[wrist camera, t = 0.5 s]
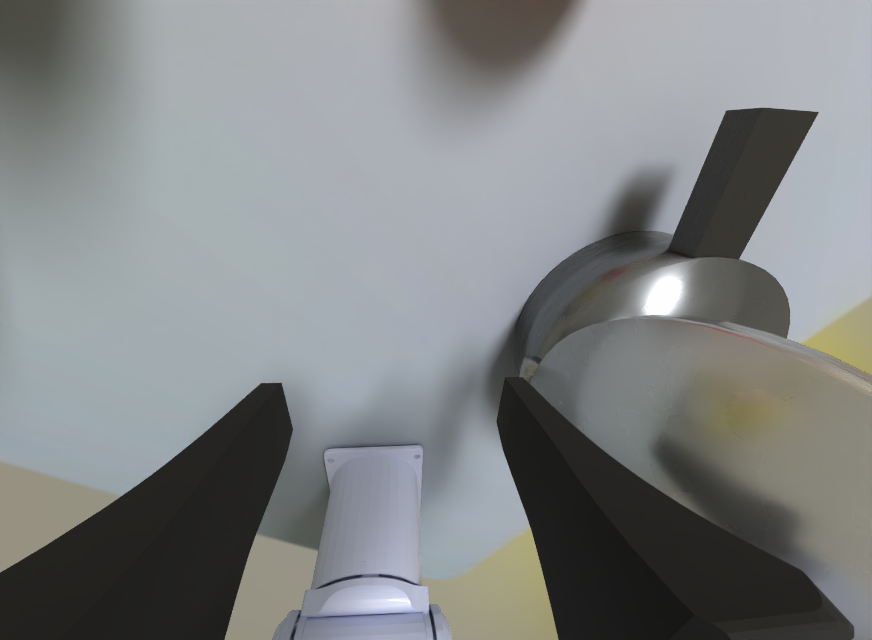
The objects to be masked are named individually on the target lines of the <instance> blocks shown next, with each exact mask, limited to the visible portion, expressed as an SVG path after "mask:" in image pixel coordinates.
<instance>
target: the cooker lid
mask: <svg viewBox="0 0 872 640" xmlns="http://www.w3.org/2000/svg"><path fill="white" fill-rule="evenodd" d="M519 377H523V378H524V379H525V380H526V381H527V382H528V383H529V384H530V385H531V386H533V387H534V388H535V389H536V390H537V391H538V392H539V393H540V394H541V395H542V396H543V397H544V398H545V399H546V400H547V401H548V402H549V403H550V404H551V405H552V406H553V407H554V408H555V409H556V410H557V411H558V412H560V413H561V414H562V415H563V416H564V417H565V418H566V419H567V420H568V421H569V422H571V423H572V424H573V425H574V426H575V427H576V428H577V429H578V430H580V431H581V432H582V433H583V434H584V435H585V436H587V437H588V438H589V439H590V440H591V441H593V442H594V443H595V444H596V445H598V446H599V447H600V448H601V449H602V450H604V451H605V452H606V453H608V454H609V455H610V456H611V457H613V458H614V459H615V460H617V461H618V462H620V463H621V464H622V465H624V466H625V467H626V468H628V469H629V470H630V471H632V472H633V473H635V474H636V475H637V476H639V477H640V478H642V479H643V480H645V481H646V482H648V483H649V484H651V485H652V486H654V487H655V488H657V489H658V490H660V491H661V492H663V493H664V494H666V495H668V496H669V497H671V498H672V499H674V500H675V501H677V502H678V503H680V504H682V505H683V506H685V507H687V508H688V509H690V510H692V511H693V512H695V513H697V514H698V515H700V516H702V517H703V518H705V519H707V520H709V521H710V522H712V523H714V524H716V525H717V526H719V527H721V528H723V529H724V530H726V531H728V532H730V533H731V534H733V535H735V536H737V537H739V538H740V539H742V540H744V541H746V542H748V543H750V544H752V545H754V546H756V547H758V548H760V549H762V550H764V551H765V552H767V553H769V554H771V555H773V556H775V557H777V558H779V559H781V560H783V561H785V562H787V563H789V564H791V565H792V566H794V567H796V568H798V569H800V570H802V571H803V572H804V573H805V574H806V575H807V576H808V577H809V578H810V579H811V580H812V581H813V583H814V584H815V585H816V586H817V587H818V588H819V589H820V590H821V591H822V592H823V593H824V594H825V595H826V597H827V598H828V599H829V600H830V601H831V602H832V603H833V604H834V605H835V606H836V607H837V608H838V609H839V611H840V612H841V613H842V614H843V615H844V616H845V617H846V618H847V619H848V620H849V621H850V622H851V623H852V625H853V626H854V638H853V639H852V640H872V375H870V374H868V373H866V372H864V371H862V370H860V369H858V368H856V367H854V366H852V365H849V364H847V363H845V362H843V361H841V360H839V359H837V358H835V357H833V356H831V355H828V354H826V353H823V352H820V351H818V350H815V349H813V348H810V347H807V346H805V345H802V344H799V343H797V342H794V341H791V340H789V339H786V338H783V337H780V336H778V335H775V334H772V333H768V332H765V331H761V330H757V329H753V328H750V327H746V326H742V325H738V324H734V323H731V322H727V321H720V320H714V319H707V318H701V317H694V316H687V315H646V316H636V317H628V318H622V319H616V320H610V321H606V322H602V323H598V324H594V325H590V326H587V327H585V328H582V329H580V330H578V331H576V332H574V333H571V334H570V335H568V336H567V337H565V338H564V339H563V340H561V341H560V342H558V343H557V344H556V345H555V346H554V347H553V348H552V349H551V350H550V351H549V352H548V353H547V354H546V355H545V357H544V358H543V359H542V358H540V357H537V356H526V357H525V358H524V359H523V363H522V367H521V371H520V375H519Z"/></svg>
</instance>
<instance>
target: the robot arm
mask: <svg viewBox="0 0 872 640" xmlns="http://www.w3.org/2000/svg"><path fill="white" fill-rule="evenodd" d="M497 426H498V430H499V435H500V439H501V443H502V447H503V451H504V454H505V457H506V460H507V463H508V465H509V468H510V471H511V474H512V477H513V479H514V482H515V485H516V488H517V490H518V493H519V496H520V499H521V501H522V504H523V507H524V510H525V512H526V515H527V518H528V521H529V524H530V527H531V530H532V534H533V537H534V541H535V545H536V548H537V552H538V556H539V560H540V563H541V567H542V571H543V575H544V579H545V584H546V587H547V591H548V596H549V600H550V604H551V608H552V612H553V617H554V621H555V626H556V630H557V634H558V639H559V640H852V639H853V638H854V626H853V625H852V623H851V622H850V621H849V620H848V619H847V618H846V617H845V616H844V615H843V614H842V613H841V612H840V611H839V609H838V608H837V607H836V606H835V605H834V604H833V603H832V602H831V601H830V600H829V599H828V598H827V597H826V595H825V594H824V593H823V592H822V591H821V590H820V589H819V588H818V587H817V586H816V585H815V584H814V583H813V581H812V580H811V579H810V578H809V577H808V576H807V575H806V574H805V573H804V572H803V571H802V570H800V569H798V568H796V567H794V566H792V565H791V564H789V563H787V562H785V561H783V560H781V559H779V558H777V557H775V556H773V555H771V554H769V553H767V552H765V551H764V550H762V549H760V548H758V547H756V546H754V545H752V544H750V543H748V542H746V541H744V540H742V539H740V538H739V537H737V536H735V535H733V534H731V533H730V532H728V531H726V530H724V529H723V528H721V527H719V526H717V525H716V524H714V523H712V522H710V521H709V520H707V519H705V518H703V517H702V516H700V515H698V514H697V513H695V512H693V511H692V510H690V509H688V508H687V507H685V506H683V505H682V504H680V503H678V502H677V501H675V500H674V499H672V498H671V497H669V496H668V495H666V494H664V493H663V492H661V491H660V490H658V489H657V488H655V487H654V486H652V485H651V484H649V483H648V482H646V481H645V480H643V479H642V478H640V477H639V476H637V475H636V474H635V473H633V472H632V471H630V470H629V469H628V468H626V467H625V466H624V465H622V464H621V463H620V462H618V461H617V460H615V459H614V458H613V457H611V456H610V455H609V454H608V453H606V452H605V451H604V450H602V449H601V448H600V447H599V446H598V445H596V444H595V443H594V442H593V441H591V440H590V439H589V438H588V437H587V436H585V435H584V434H583V433H582V432H581V431H580V430H578V429H577V428H576V427H575V426H574V425H573V424H572V423H571V422H569V421H568V420H567V419H566V418H565V417H564V416H563V415H562V414H561V413H560V412H558V411H557V410H556V409H555V408H554V407H553V406H552V405H551V404H550V403H549V402H548V401H547V400H546V399H545V398H544V397H543V396H542V395H541V394H540V393H539V392H538V391H537V390H536V389H535V388H534V387H533V386H531V385H530V384H529V383H528V382H527V381H526V380H525V379H524V378H523V377H509V378H505V381H504V386H503V391H502V396H501V401H500V406H499V412H498V417H497ZM292 431H293V428H292V424H291V420H290V416H289V412H288V407H287V403H286V399H285V395H284V391H283V387H282V383H261V384H260V385H259V386H258V387H256V388H255V389H254V390H253V391H252V392H251V393H249V394H248V395H247V396H246V397H245V398H244V399H243V400H242V401H241V402H239V403H238V404H237V405H236V406H235V407H234V408H233V409H232V410H230V411H229V412H228V413H227V414H226V415H225V416H224V417H222V418H221V419H220V420H219V421H218V422H217V423H215V424H214V425H213V426H212V427H211V428H210V429H208V430H207V431H206V432H205V433H204V434H203V435H201V436H200V437H199V438H198V439H197V440H195V441H194V442H193V443H192V444H190V445H189V446H188V447H187V448H185V449H184V450H183V451H182V452H180V453H179V454H178V455H177V456H175V457H174V458H173V459H172V460H170V461H169V462H168V463H167V464H165V465H164V466H163V467H161V468H160V469H159V470H157V471H156V472H155V473H153V474H152V475H151V476H149V477H148V478H147V479H145V480H144V481H143V482H141V483H140V484H138V485H137V486H136V487H134V488H133V489H131V490H130V491H128V492H127V493H126V494H124V495H123V496H121V497H120V498H118V499H117V500H116V501H114V502H113V503H111V504H110V505H108V506H107V507H105V508H104V509H102V510H101V511H99V512H98V513H96V514H95V515H93V516H91V517H90V518H88V519H87V520H85V521H84V522H82V523H81V524H79V525H77V526H76V527H74V528H73V529H71V530H69V531H68V532H66V533H65V534H63V535H62V536H60V537H59V538H57V539H55V540H54V541H52V542H51V543H49V544H48V545H46V546H45V547H43V548H41V549H39V550H38V551H36V552H34V553H33V554H31V555H29V556H28V557H26V558H24V559H23V560H21V561H20V562H18V563H16V564H14V565H13V566H11V567H9V568H7V569H6V570H4V571H2V572H1V573H0V640H224V639H225V635H226V632H227V628H228V625H229V621H230V617H231V614H232V610H233V606H234V603H235V599H236V595H237V592H238V589H239V585H240V582H241V578H242V575H243V571H244V569H245V565H246V562H247V558H248V555H249V552H250V549H251V547H252V544H253V541H254V538H255V535H256V533H257V530H258V528H259V525H260V523H261V520H262V518H263V515H264V513H265V510H266V508H267V505H268V503H269V500H270V498H271V495H272V493H273V490H274V488H275V485H276V482H277V480H278V477H279V475H280V472H281V469H282V467H283V464H284V462H285V458H286V454H287V451H288V447H289V443H290V439H291V435H292ZM324 461H325V467H326V472H327V477H328V483H329V488H330V497H329V501H328V506H327V511H326V516H325V521H324V526H323V531H322V536H321V541H320V546H319V551H318V556H317V561H316V566H315V571H314V576H313V581H312V586H311V590H307V591H305V596H304V601H303V605H302V610H292V611H291V612H290V613H289V614H288V615H287V617H286V618H285V619H284V620H283V621H282V623H281V624H280V625H279V626H278V627H277V629H276V631H275V633H274V636H273V639H272V640H452V634H451V630H450V626H449V623H448V620H447V618H446V617H445V615H444V614H443V613H442V612H441V609H440V607H439V606H438V605H437V604H430V605H429V598H428V587H427V586H422V575H421V552H420V529H419V512H420V504H421V484H422V464H423V448H422V447H421V446H419V445H409V446H384V447H360V448H335V449H327V450H325V452H324Z"/></svg>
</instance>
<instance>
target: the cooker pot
mask: <svg viewBox="0 0 872 640" xmlns="http://www.w3.org/2000/svg"><path fill="white" fill-rule="evenodd" d="M818 113H819V112H811V111H798V110H786V109H773V108H754V109H741V110H728V111H726V113H725V115H724V117H723V120H722V122H721V124H720V127H719V129H718V132H717V134H716V136H715V139H714V141H713V143H712V146H711V148H710V150H709V153H708V155H707V158H706V160H705V162H704V165H703V167H702V169H701V172H700V174H699V177H698V179H697V181H696V184H695V186H694V188H693V191H692V193H691V195H690V198H689V200H688V203H687V205H686V207H685V210H684V212H683V214H682V217H681V219H680V222H679V224H678V226H677V229H676V231H675V233H674V235H671V234H667V233H663V232H655V231H634V232H628V233H622V234H618V235H614V236H611V237H607V238H604V239H602V240H599V241H597V242H595V243H592V244H590V245H588V246H586V247H584V248H583V249H581V250H579V251H577V252H575V253H574V254H573V255H571V256H570V257H568V258H567V259H565V260H564V261H563V262H561V263H560V264H559V265H558V266H557V267H555V268H554V269H553V270H552V271H551V272H550V273H549V274H548V275H547V276H546V277H545V278H544V279H543V280H542V281H541V282H540V284H539V285H538V286H537V288H536V289H535V290H534V292H533V293H532V294H531V296H530V297H529V299H528V301H527V303H526V304H525V306H524V308H523V310H522V313H521V315H520V317H519V320H518V323H517V327H516V331H515V338H514V353H515V358H516V363H517V365H518V368H519V371H521V367H522V363H523V359H524V358H525V357H526V356H537V357H540V358H542V359H543V358H544V357H545V355H546V354H547V353H548V352H549V351H550V350H551V349H552V348H553V347H554V346H555V345H556V344H557V343H558V342H560V341H561V340H563V339H564V338H565V337H567V336H568V335H570V334H571V333H574V332H576V331H578V330H580V329H582V328H585V327H587V326H590V325H594V324H598V323H602V322H606V321H610V320H616V319H622V318H628V317H636V316H646V315H687V316H694V317H701V318H707V319H714V320H720V321H727V322H731V323H734V324H738V325H742V326H746V327H750V328H753V329H757V330H761V331H765V332H768V333H772V334H775V335H778V336H780V337H783V338H787V335H788V330H789V325H790V308H789V303H788V298H787V296H786V294H785V292H784V289H783V287H782V286H781V285H780V284H779V282H778V281H777V280H776V278H774V277H773V276H772V275H771V274H769V273H768V272H767V271H766V270H764V269H762V268H760V267H758V266H756V265H753V264H751V263H748V262H746V261H743V260H740V259H739V258H740V256H741V254H742V253H743V251H744V249H745V247H746V245H747V243H748V242H749V240H750V238H751V236H752V234H753V232H754V231H755V229H756V227H757V225H758V223H759V221H760V219H761V218H762V216H763V214H764V212H765V210H766V208H767V207H768V205H769V203H770V201H771V199H772V197H773V196H774V194H775V192H776V190H777V188H778V186H779V185H780V183H781V181H782V179H783V177H784V175H785V173H786V172H787V170H788V168H789V166H790V164H791V162H792V161H793V159H794V157H795V155H796V153H797V151H798V150H799V148H800V146H801V144H802V142H803V140H804V139H805V137H806V135H807V133H808V131H809V129H810V127H811V126H812V124H813V122H814V120H815V118H816V116H817V115H818Z"/></svg>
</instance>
